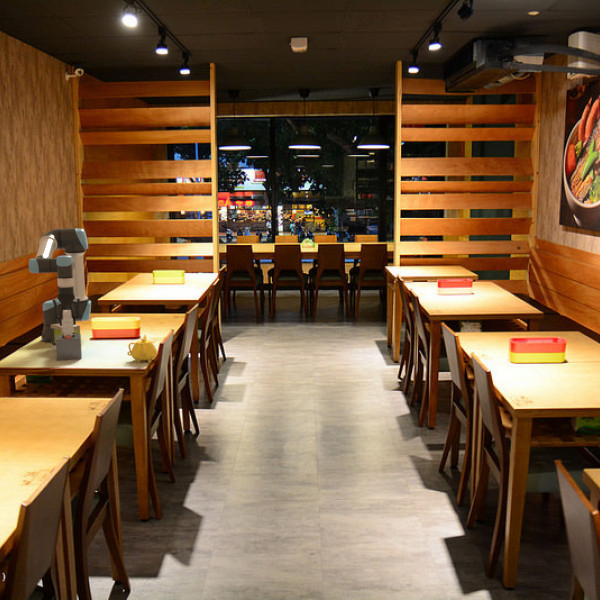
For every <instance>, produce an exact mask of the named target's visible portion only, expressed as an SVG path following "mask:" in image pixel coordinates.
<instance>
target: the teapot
mask: <svg viewBox="0 0 600 600" xmlns="http://www.w3.org/2000/svg"><path fill="white" fill-rule="evenodd" d="M131 345H133V347H132V349H131ZM128 350H129V351H127V354H126V355H128V357H130V356H131V357H132V359H133V360H136V361H135V363H137V362H138V363H141V362H140V361H151V362H150V363H152V362H153V361H152V360H154V359H155V358H156V357H157V355H158V351H157V348H156V346H155V344H154V343H153V341H152V340H149V339H147V335H146V334H145V335H143V337H142V338H140V340H137V341H135V342H134V341H133V342H129V344H128Z"/></svg>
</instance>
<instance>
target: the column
mask: <svg viewBox="0 0 600 600" xmlns="http://www.w3.org/2000/svg"><path fill="white" fill-rule="evenodd" d="M63 325H64V338H66V336H71V338H73V335H72V316H71V310H63Z"/></svg>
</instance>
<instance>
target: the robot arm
mask: <svg viewBox="0 0 600 600" xmlns="http://www.w3.org/2000/svg"><path fill="white" fill-rule="evenodd" d="M38 245H39V246H38V247H39V248H38V251H37V253H36V256H35V257H34V258H30V259H28V260H29V261H28V271H29V273H30V274H52V273H53V274H56V275H57V276H56V278H57V279H56V280H57V286H58V287H57V292H58V293H57V297H56V298H52V299H51V300H47V301H45V302H43V303H42V318H43V329H42V333H41V337H40V339H41V342H43V343H51V324H58V323H60V326H62V332H64V325H63V310H71V316H72V332H74V326H73V325H77V324H76V322H83V321H84V322H85V321H89V319H90V318H91V317H90V316H91V310H92V300H89V297H88V296H87V295H86V285H85V283H86V282H85V267H84V254H85V253H86V251H87V250H88V249H89V243H88V238H87V233H86V231H85V229H84V228H76V227H75V228H71V227H70V228H54V229H51V230H49V231H47V232H45V233H44V234H43V235H42V236H40V239H39V241H38ZM55 250H63V252H64V254H65V255H57V256H56V257H53V255H54V254H53V253H54V251H55Z"/></svg>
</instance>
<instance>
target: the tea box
mask: <svg viewBox="0 0 600 600" xmlns="http://www.w3.org/2000/svg"><path fill="white" fill-rule="evenodd" d="M73 326H74V332H72V334H81V326H80V325H79V324H76V325H73ZM56 335H64V332H62V326H60V323H58V324H51V342H50V343H51V350H52V351H56Z"/></svg>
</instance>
